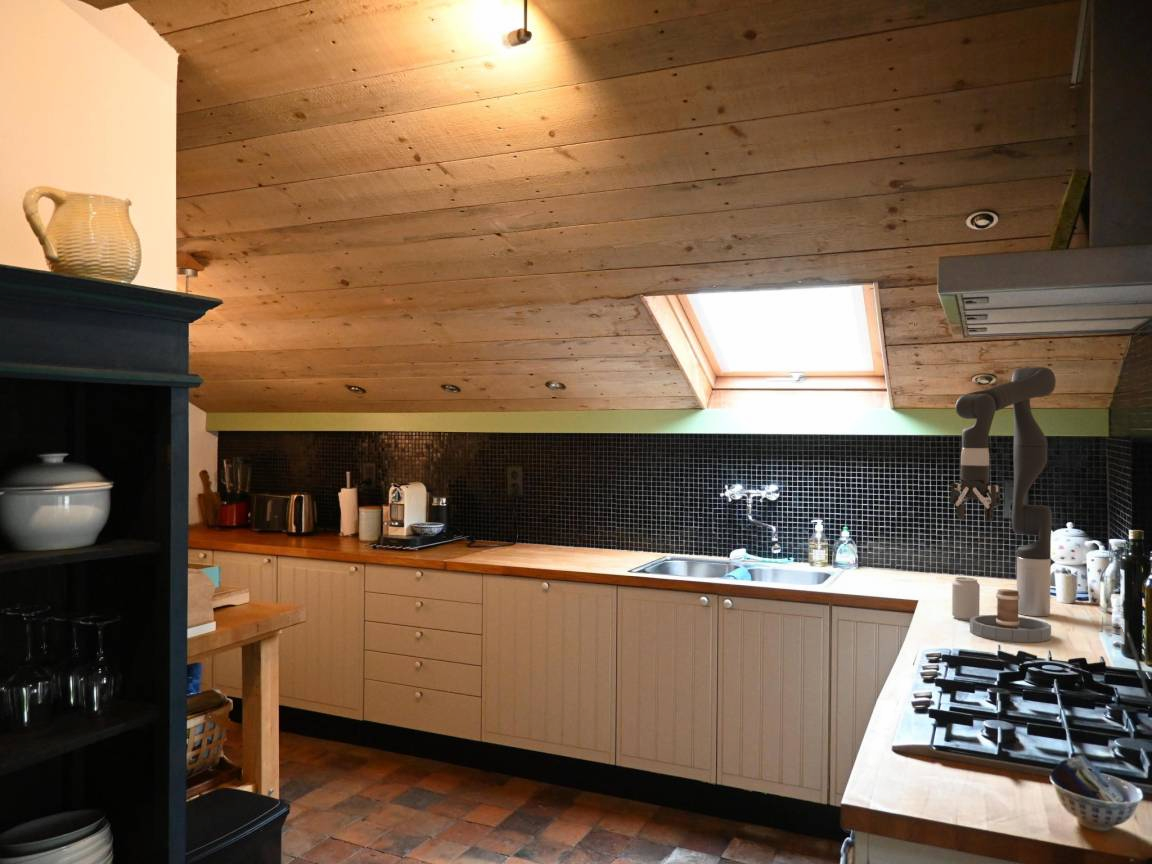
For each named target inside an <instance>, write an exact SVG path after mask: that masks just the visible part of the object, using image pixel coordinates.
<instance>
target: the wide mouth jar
mask: <svg viewBox="0 0 1152 864" xmlns="http://www.w3.org/2000/svg"><path fill="white" fill-rule="evenodd" d="M951 585H952V589H951V591H952V593H951V594H952V597H951V600H952V601H951V604H952V605H951V609H952V610H951V612H952V613H951V616H953V617H954V618H955V619H957V620H960V621H969V622H970V618H972V617H974V616H980V600H981V599H980V596H981V595H980V594H981V593H980V591H981V590H980V589H981V587H980V583H979V582H978V579H977V578H975V577H974V578H973V577H966V576H962V577H961V576H959V577H958V576H957V577H954V581H953V582H952V583H951Z"/></svg>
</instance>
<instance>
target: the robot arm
mask: <svg viewBox="0 0 1152 864" xmlns="http://www.w3.org/2000/svg"><path fill="white" fill-rule="evenodd" d="M1056 382H1057V380H1056V376H1055V373H1054V371H1053V370H1052V369H1051V368H1048V367H1044V366H1035V367H1034V366H1033V367H1019V368H1017V369H1015V370H1014V371H1013V373H1012V376H1011V381H1009V382H1003V383H999V384H996V385H994V386H990V387H987V388H986V389H983V390H978V391H974V392H969V393H965V394H962V395H961V396H960V397H959V398H958V399H957V401H956V403H955V408H954V409H955V412H956V414H957V416H959V417H960V418H962V419H967V420H969V419H970V420H971V419H972V420H975V419H976V420H975V422H974V424H973V425H972V426H968V427H965V428H964V429H963V430H962V433H961V454H960V480H961V482H960V483H959V482H953V483H951V485H950V495H949V496H950V497H949V503H950V504H953V505H955V506H956V517H957V519H958V520H965V517H966V514H965V513H966V512H965V509H966V508H965V507H966V506H965V504H966V503H967V502H968V501H969V500H976V501H977V500H979V501H980V502H981V503H982V504H983V505H984V507H985V509H984V521H985V523H991V522H992V521H993V520H994V510H995V508H996V507H997V508H999V507H1000V506H1001V489H1000V485H998V484H996V485H995V484H993V485H990V483H989V480H990V451H989V447H990V446H989V443H990V442H989V437H990V436H989V435H990V431H991V427H992V423H993V420H994V417H995V414H996V412H997V411H1000V410H1003V409H1005V408H1007V407H1009V406H1011V405H1012V408H1013V409H1012V411H1013V453H1012V454H1013V455H1012V456H1013V458H1012V459H1013V496H1012V497H1013V498H1012V509H1011V526H1012V527H1011V528H1012V531H1013V532H1014V534H1016V535H1025V536H1026V535H1027V536H1038V539H1037V540H1036V541H1034V542H1032V543H1029V544H1025V545H1021V546H1018V548H1017V549H1016V591H1018V592H1019V594H1018V595H1020V599H1019V600H1018V615H1023V616H1024V615H1025V616H1031V617H1049V616H1050V615H1051V565H1052V563H1051V559H1052V557H1051V554H1052V553H1051V549H1052V545H1051V544H1052V543H1051V542H1052V527H1053V513H1052V509H1051V508H1050V506H1049V505H1042V504H1041V505H1038V504H1025V503H1026V502H1025V500H1026V497H1027V494H1028V491H1030V488H1031V487H1032V485H1033V483H1034V482H1035V480H1036V479H1037V478H1038V477H1039V475H1040V474H1041V473H1042V472H1043V470H1044V468H1045V467H1046V465H1047V461H1048V441H1047V438H1046V436H1045V434H1044V431H1043V430H1042V429H1041V427H1040V426H1039V424H1038V423H1037V421H1036V419H1035V417H1034V414H1033V413H1032V408H1031V407H1032V406H1031V399H1034V398H1045V397H1048V396H1050V395H1051V394H1052V393H1053V392H1054V390H1055V388H1056ZM960 491H962V492H961V494H960ZM988 492H989V493H990V494H989V493H988Z"/></svg>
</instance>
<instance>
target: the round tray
mask: <svg viewBox="0 0 1152 864" xmlns="http://www.w3.org/2000/svg"><path fill="white" fill-rule="evenodd" d="M996 618H997V614H985V615H984V614H982V615H981V614H979V616H974V617H972V618H970V621H969V632H970V634H972V635H974V636H976V637H980V638H982V639H983V638H984V639H988V640H994V641H999V642H1005V641H1010V642H1009V643H1016V642H1020V643H1019V644H1037V643H1046V642H1049V641H1051V639H1052V625H1051V624H1049V623H1048V622H1047V621H1046V622H1045V621H1042V620H1039V619H1035V618H1029V617H1025V616H1018V620H1019V625H1018V629H1009V628H1000V627H997V623H996Z"/></svg>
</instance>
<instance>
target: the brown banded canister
mask: <svg viewBox="0 0 1152 864" xmlns="http://www.w3.org/2000/svg"><path fill="white" fill-rule="evenodd" d="M1018 594H1019V592H1018V591H1017V589H1016V590H1015V589H1009V588H1006V589H1005V588H999V589H997V592H996V593H995V595H996V596H995V597H996V598H997V602H996V603H997V605H996V606H997V607H996V609H997V612H996V615H997V618H996V623H997V627H1000V628H1009V629H1018V625H1019V620H1018V617H1019V613H1018V600H1019V599H1020V595H1018Z"/></svg>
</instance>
